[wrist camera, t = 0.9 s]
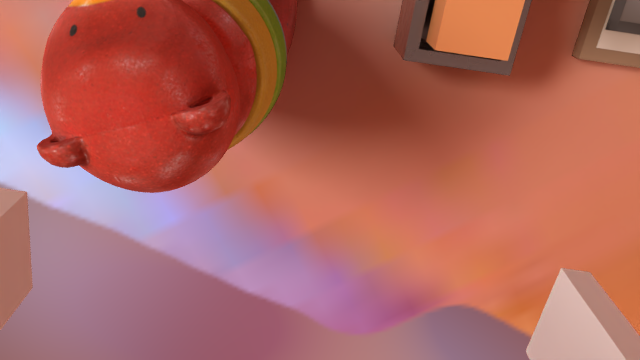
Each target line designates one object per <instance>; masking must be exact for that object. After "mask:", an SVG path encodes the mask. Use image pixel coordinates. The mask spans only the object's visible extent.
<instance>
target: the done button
mask: <svg viewBox="0 0 640 360" xmlns="http://www.w3.org/2000/svg"><path fill="white" fill-rule="evenodd" d="M524 2H525V0H435V2H434V7H433V11H432V16H431V20H430V25H429V29H428V34H427V38H426V42H427V43H428V44H429V45H430V46H431V47H432V48H433V49H434V50H437V51H444V52H451V53H458V54H464V55H471V56H478V57H485V58H492V59H498V60H505V61H508V58H509V55H510V51H511V48H512V44H513V41H514V37H515V34H516V30H517V27H518V23H519V20H520V16H521V13H522V9H523V6H524Z"/></svg>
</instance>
